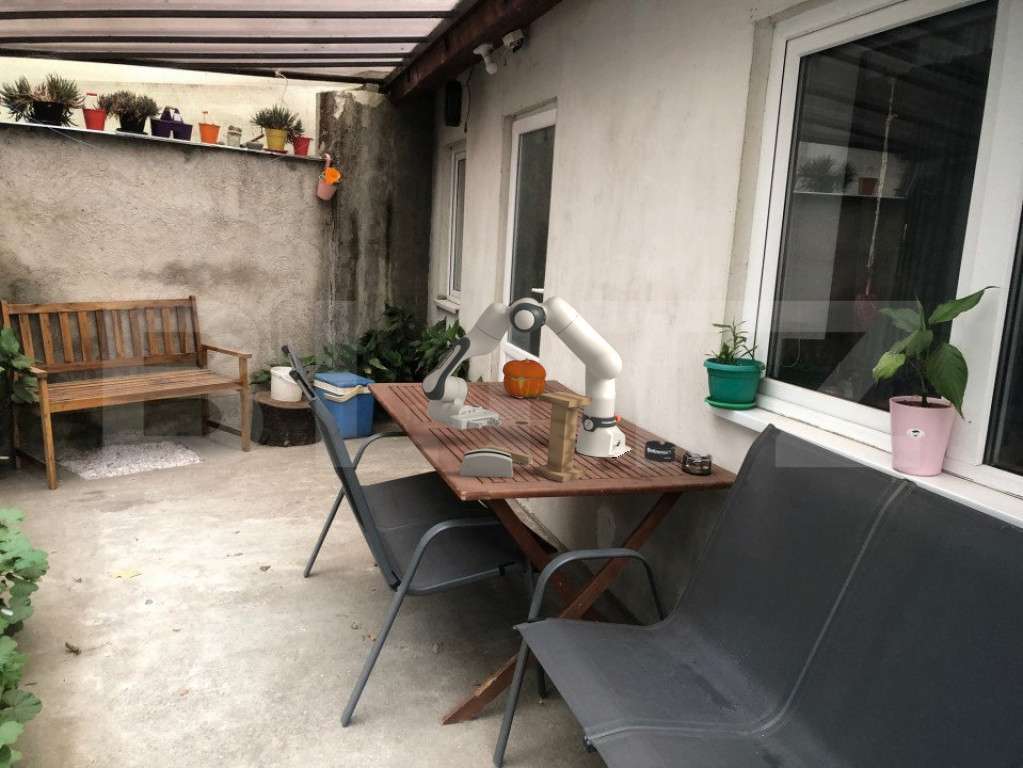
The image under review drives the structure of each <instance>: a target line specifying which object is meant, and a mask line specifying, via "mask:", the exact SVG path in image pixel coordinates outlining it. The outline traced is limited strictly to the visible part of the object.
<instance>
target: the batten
mask: <svg viewBox="0 0 1023 768" xmlns="http://www.w3.org/2000/svg"><path fill="white" fill-rule="evenodd" d="M484 449H493V450H499V451H503V452H506V453H509V454H510V455H511V457H512V462H513V461H516V462H520V463H524V464H527V465H529V464H532V465H533V461H534V460H533V459H534V456H533V455H530V454H526V453H523V452H518V451H514V450H511V449H507V448H503V447H500V446H495V445H492V444H487V445H484ZM516 462H515V463H516ZM520 463H519V464H520ZM524 464H523V465H524ZM527 465H526V466H527ZM529 466H530V465H529Z"/></svg>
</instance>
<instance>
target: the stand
mask: <svg viewBox="0 0 1023 768" xmlns="http://www.w3.org/2000/svg"><path fill="white" fill-rule="evenodd" d="M538 402H543V403H546V404H551V411H550V423H549V435H548V436H549V437H548V446H547V447H548V448H547V449H548V450H547V460H546V464H542V465H538V466H535V467H533V470H532V471H533V472H532V474H533V473H534V474H533V475H536V474H538V475H537V476H539V475H541V476H540V477H543V476H544V477H543V478H546V477H548V478H547V479H549V478H551V479H550V480H552V479H553V481H555V480H556V482H559V483H561V484H562V483H567V482H570V481H573V479H574V480H577V479H580V477H581V478H583V477H582V476H584V477H586V472H587V470H586V469H583V468H579V467H576V466H574V458H575V451H576V448H575V444H576V435H577V425H578V424H577V423H578V410H579V407H581V406H584V405H588V404H592V398H591V397H587V396H585V395H580V394H577V393H573V392H567V391H556V392H555V391H554V392H548V393H542V394H540V395H539V396H538Z"/></svg>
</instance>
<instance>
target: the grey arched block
mask: <svg viewBox="0 0 1023 768" xmlns="http://www.w3.org/2000/svg"><path fill="white" fill-rule="evenodd" d="M461 461H462V462H461V466H460V469H459V471H460V472H459V476H461V477H462V476H463V477H478V476H481V478H482V477H484V478H498V477H506V478H505V479H513V478H514V472H513V461H512V457H511V455H510V454H509V453H506V452H503V451H499V450H493V449H485V448H480V449H479V448H478V449H472V450H467V451H465V452H464V453H463V457H462V460H461ZM512 477H513V478H512Z"/></svg>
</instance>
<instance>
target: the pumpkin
mask: <svg viewBox="0 0 1023 768" xmlns="http://www.w3.org/2000/svg"><path fill="white" fill-rule="evenodd" d="M502 374H503V382H502V383H503V389H505V391H506V393H507V394H509V395H510V396H511V397H514V396H517V397H528V398H531V397H534V396H537V397H539V395H540V394H543V392H545V389H546V386H547V382H546V377H547V371H546V369H545V367H544V366H543V365H542V364H541V363H540V362H538V361H536V360H534V359H531V358H530V359H529V358H528V357H526V358H525V359H522V360H521V359H520V360H518V359H513V360H509V361H507V362H506V363H505V364H504V365H503V367H502Z"/></svg>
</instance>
